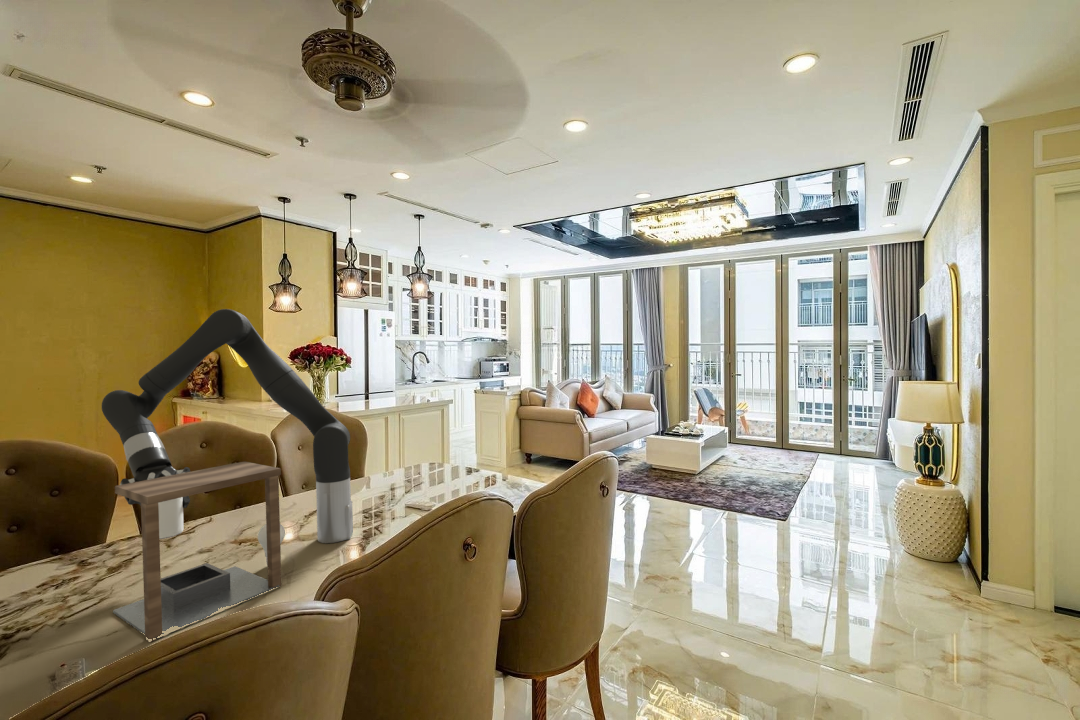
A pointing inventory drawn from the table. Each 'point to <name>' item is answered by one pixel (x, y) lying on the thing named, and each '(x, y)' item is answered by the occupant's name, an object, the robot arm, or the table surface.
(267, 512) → the wooden arch stand
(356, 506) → the table surface
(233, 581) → the socket
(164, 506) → the can
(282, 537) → the lightbulb
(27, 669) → the table surface
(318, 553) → the table surface
